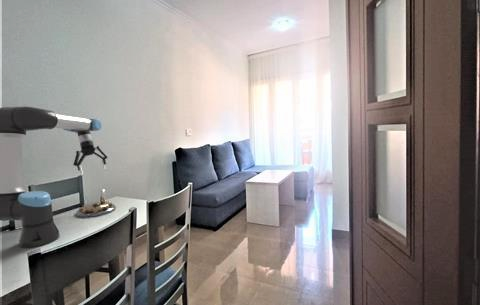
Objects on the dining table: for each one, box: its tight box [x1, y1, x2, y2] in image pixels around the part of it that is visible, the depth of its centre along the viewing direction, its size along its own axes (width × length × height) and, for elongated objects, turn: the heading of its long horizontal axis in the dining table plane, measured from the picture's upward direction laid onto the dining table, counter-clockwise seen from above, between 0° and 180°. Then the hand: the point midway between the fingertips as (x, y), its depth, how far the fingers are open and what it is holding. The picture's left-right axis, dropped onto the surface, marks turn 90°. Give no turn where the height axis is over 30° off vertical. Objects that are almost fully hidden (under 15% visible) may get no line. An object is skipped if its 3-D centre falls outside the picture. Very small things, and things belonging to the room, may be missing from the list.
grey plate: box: [75, 203, 117, 219], centre depth 162 cm, size 22×22×2 cm
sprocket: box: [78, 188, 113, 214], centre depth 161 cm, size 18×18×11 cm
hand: (93, 172), depth 168 cm, fingers open, 13 cm apart
